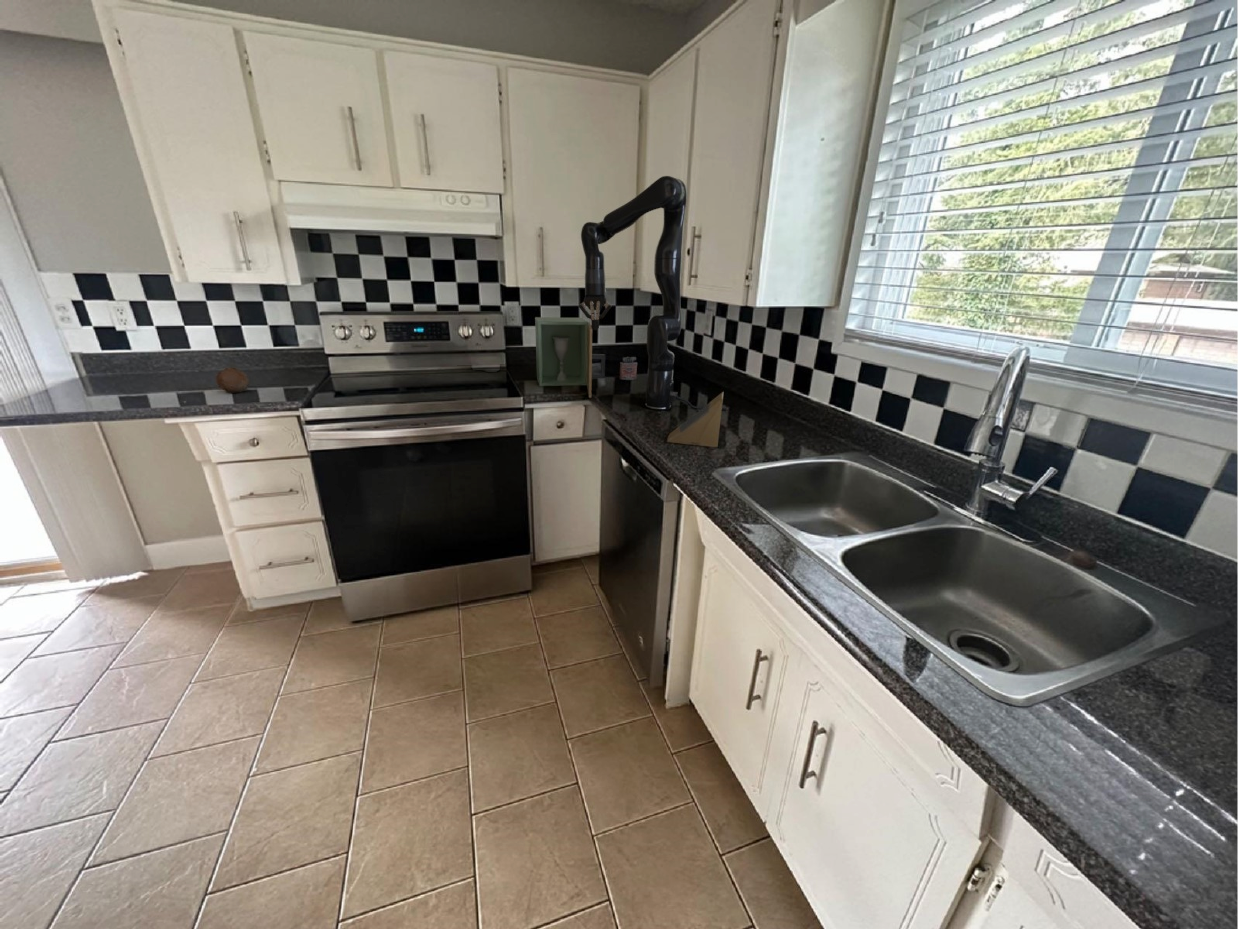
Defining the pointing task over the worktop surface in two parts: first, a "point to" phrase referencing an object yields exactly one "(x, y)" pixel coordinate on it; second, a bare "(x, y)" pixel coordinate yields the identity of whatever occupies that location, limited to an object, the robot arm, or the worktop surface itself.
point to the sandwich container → (701, 426)
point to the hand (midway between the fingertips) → (595, 329)
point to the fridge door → (589, 361)
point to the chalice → (561, 353)
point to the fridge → (575, 356)
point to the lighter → (628, 369)
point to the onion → (232, 380)
